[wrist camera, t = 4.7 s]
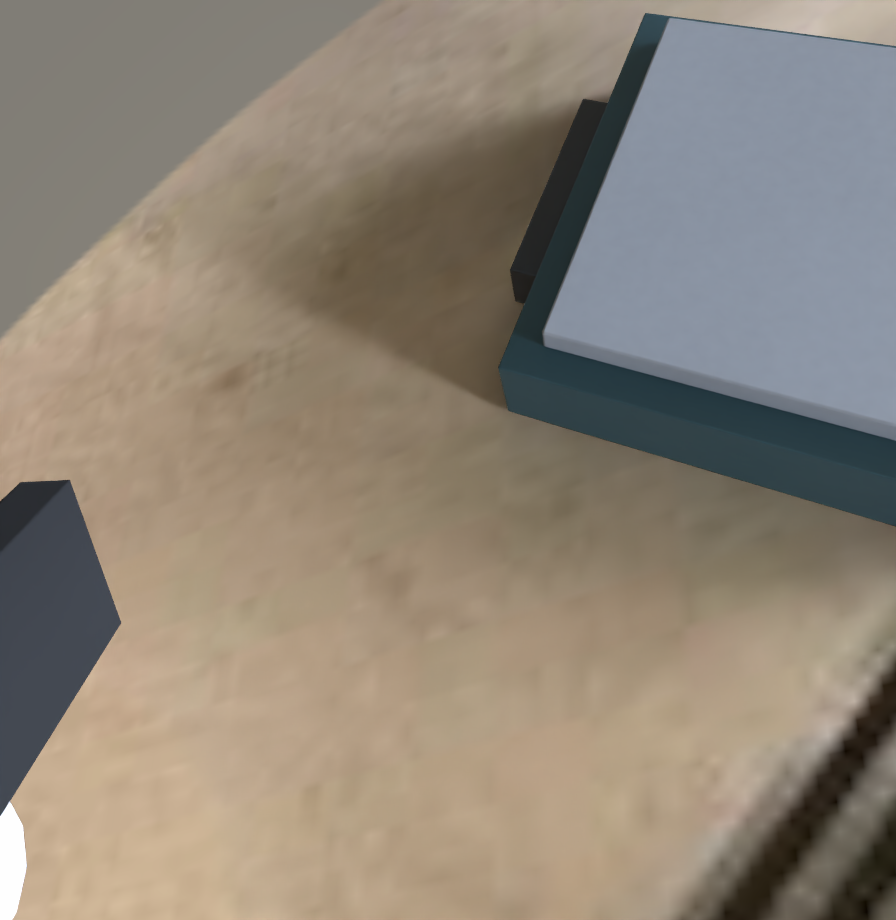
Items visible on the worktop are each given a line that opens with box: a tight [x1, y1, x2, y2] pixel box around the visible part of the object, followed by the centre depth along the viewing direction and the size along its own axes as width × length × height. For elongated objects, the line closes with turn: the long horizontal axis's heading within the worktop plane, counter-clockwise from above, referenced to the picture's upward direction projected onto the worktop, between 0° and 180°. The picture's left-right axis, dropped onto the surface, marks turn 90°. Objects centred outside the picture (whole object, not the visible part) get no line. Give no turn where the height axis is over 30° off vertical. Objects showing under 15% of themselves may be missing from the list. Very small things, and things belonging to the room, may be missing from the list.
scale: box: [498, 13, 896, 526], centre depth 23 cm, size 15×14×4 cm
